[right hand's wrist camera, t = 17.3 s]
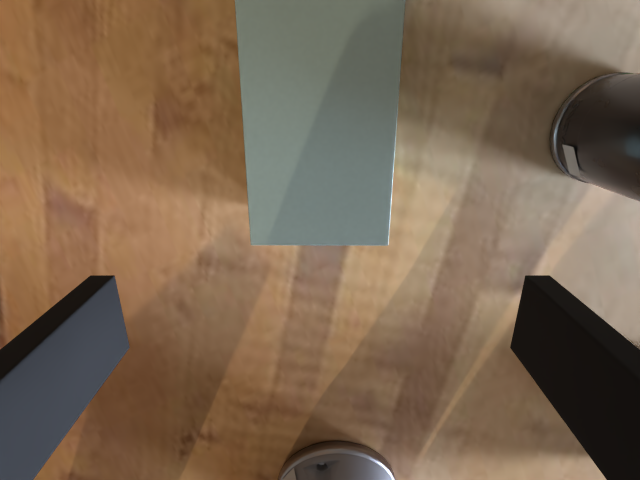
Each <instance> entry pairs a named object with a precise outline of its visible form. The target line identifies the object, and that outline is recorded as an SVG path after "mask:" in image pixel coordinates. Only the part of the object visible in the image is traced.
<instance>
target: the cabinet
mask: <svg viewBox="0 0 640 480" xmlns="http://www.w3.org/2000/svg"><path fill="white" fill-rule="evenodd" d="M235 10H236V25H237V40H238V56H239V71H240V86H241V102H242V117H243V132H244V148H245V163H246V178H247V194H248V209H249V224H250V240H251V245H388V241H389V227H390V213H391V198H392V184H393V170H394V156H395V141H396V127H397V113H398V99H399V84H400V70H401V56H402V42H403V27H404V13H405V0H235Z"/></svg>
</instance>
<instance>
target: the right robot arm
mask: <svg viewBox="0 0 640 480" xmlns="http://www.w3.org/2000/svg"><path fill="white" fill-rule="evenodd" d="M129 348H130V347H129V342H128V337H127V333H126V328H125V323H124V318H123V314H122V309H121V304H120V299H119V294H118V290H117V285H116V280H115V276H89V277H88V278H87V279H86V280H85V281H83V282H82V283H81V284H80V285H79V286H77V287H76V288H75V289H74V290H72V291H71V292H70V293H69V294H68V295H66V296H65V297H64V298H63V299H62V300H60V301H59V302H58V303H57V304H55V305H54V306H53V307H52V308H51V309H49V310H48V311H47V312H46V313H44V314H43V315H42V316H41V317H40V318H38V319H37V320H36V321H35V322H34V323H32V324H31V325H30V326H29V327H27V328H26V329H25V330H24V331H23V332H21V333H20V334H19V335H18V336H16V337H15V338H14V339H13V340H12V341H10V342H9V343H8V344H7V345H6V346H4V347H3V348H2V349H1V350H0V480H33V479H34V478H35V476H36V475H37V474H38V472H39V471H40V470H41V468H42V467H43V465H44V464H45V463H46V461H47V460H48V459H49V457H50V456H51V454H52V453H53V452H54V450H55V449H56V448H57V446H58V445H59V444H60V442H61V441H62V439H63V438H64V437H65V435H66V434H67V433H68V431H69V430H70V428H71V427H72V426H73V424H74V423H75V422H76V420H77V419H78V418H79V416H80V415H81V413H82V412H83V411H84V409H85V408H86V407H87V405H88V404H89V402H90V401H91V400H92V398H93V397H94V396H95V394H96V393H97V392H98V390H99V389H100V387H101V386H102V385H103V383H104V382H105V381H106V379H107V378H108V376H109V375H110V374H111V372H112V371H113V370H114V368H115V367H116V366H117V364H118V363H119V361H120V360H121V359H122V357H123V356H124V355H125V353H126V352H127V350H128V349H129ZM510 348H511V349H512V350H513V352H514V353H515V355H516V356H517V357H518V359H519V360H520V361H521V363H522V364H523V366H524V367H525V368H526V370H527V371H528V372H529V374H530V375H531V376H532V378H533V379H534V381H535V382H536V383H537V385H538V386H539V387H540V389H541V390H542V392H543V393H544V394H545V396H546V397H547V398H548V400H549V401H550V402H551V404H552V405H553V407H554V408H555V409H556V411H557V412H558V413H559V415H560V416H561V418H562V419H563V420H564V422H565V423H566V424H567V426H568V427H569V428H570V430H571V431H572V433H573V434H574V435H575V437H576V438H577V439H578V441H579V442H580V444H581V445H582V446H583V448H584V449H585V450H586V452H587V453H588V454H589V456H590V457H591V459H592V460H593V461H594V463H595V464H596V465H597V467H598V468H599V470H600V471H601V472H602V474H603V475H604V476H605V478H606V479H607V480H640V350H639V349H638V348H637V347H636V346H634V345H633V344H632V343H631V342H630V341H628V340H627V339H626V338H625V337H624V336H622V335H621V334H620V333H619V332H617V331H616V330H615V329H614V328H613V327H611V326H610V325H609V324H608V323H606V322H605V321H604V320H603V319H602V318H600V317H599V316H598V315H597V314H596V313H594V312H593V311H592V310H591V309H589V308H588V307H587V306H586V305H585V304H583V303H582V302H581V301H580V300H578V299H577V298H576V297H575V296H574V295H572V294H571V293H570V292H569V291H568V290H566V289H565V288H564V287H563V286H561V285H560V284H559V283H558V282H557V281H555V280H554V279H553V278H552V277H551V276H525V280H524V285H523V290H522V294H521V299H520V304H519V309H518V314H517V318H516V323H515V328H514V333H513V337H512V342H511V347H510ZM278 480H395V477H394V473H393V471H392V468H391V466H390V465H389V463H388V462H387V461H386V460H385V459H384V458H383V457H382V456H381V455H380V454H378V453H377V452H375V451H374V450H372V449H370V448H368V447H365V446H363V445H360V444H356V443H351V442H342V441H332V442H324V443H319V444H315V445H312V446H309V447H307V448H304V449H302V450H301V451H299V452H297V453H296V454H294V455H293V456H292V457H291V458H290V459H289V460H288V461H287V462H286V463H285V464H284V466H283V467H282V469H281V471H280V474H279V478H278Z"/></svg>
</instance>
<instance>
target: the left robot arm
mask: <svg viewBox="0 0 640 480" xmlns="http://www.w3.org/2000/svg"><path fill="white" fill-rule="evenodd" d="M550 146H551V152H552V156H553V158H554V161H555V163H556V164H557V166H558V167H559V168H560V169H561V170H562V171H563V172H564V173H565V174H566V175H568V176H569V177H571V178H574V179H576V180H579V181H582V182H585V183H591V184H594V185H596V186H599V187H602V188H604V189H607V190H610V191H612V192H615V193H618V194H621V195H624V196H626V197H629V198H632V199H635V200H637V201H640V73H637V74H633V73H612V74H606V75H602V76H599V77H596V78H594V79H592V80H590V81H588V82H586V83H585V84H583V85H582V86H580V87H579V88H578V89H576V90H575V91H574V92H573V93H572V94H571V95H570V96H569V97H568V98H567V100H566V101H565V102H564V103H563V105H562V106H561V108H560V110H559V111H558V113H557V115H556V117H555V120H554V122H553V126H552V130H551V136H550Z"/></svg>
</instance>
